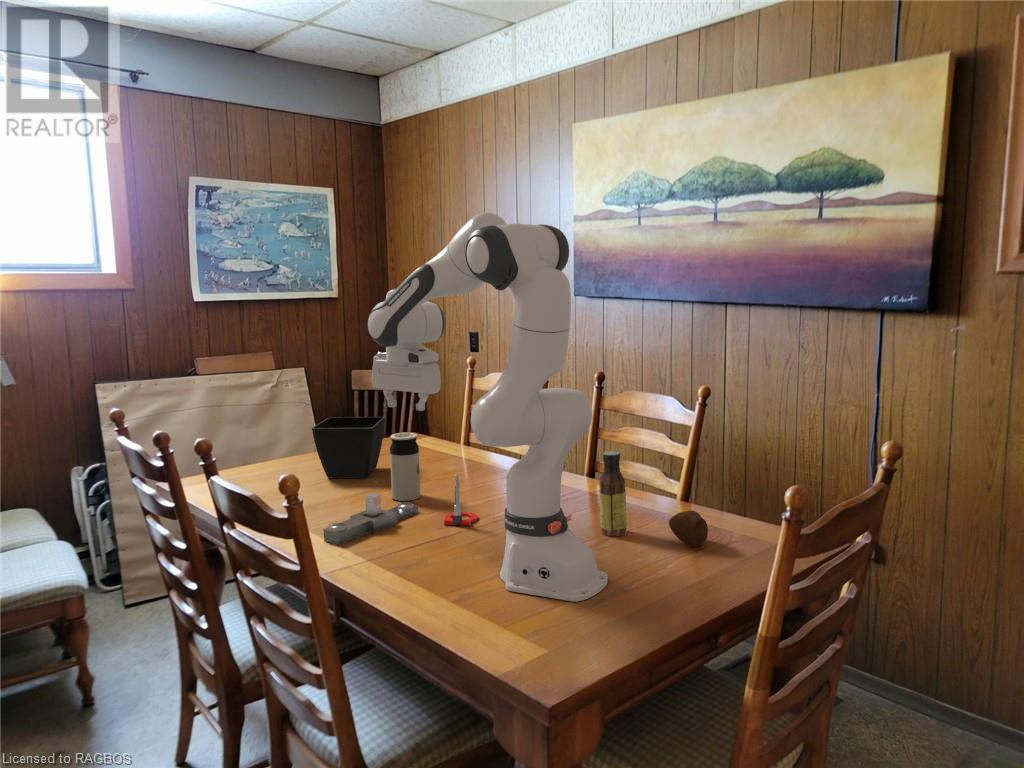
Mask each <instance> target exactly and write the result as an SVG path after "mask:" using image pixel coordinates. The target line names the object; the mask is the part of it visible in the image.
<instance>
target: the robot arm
mask: <svg viewBox="0 0 1024 768" xmlns="http://www.w3.org/2000/svg"><path fill="white" fill-rule="evenodd" d="M569 257H570V245H569V241H568V239H567V236H566V235H565V233H564V232H563V231H562V230H561V229H560V228H557V227H554V226H553V225H549V224H544V223H540V224H539V223H538V224H526V223H520V222H519V223H517V222H516V223H507V222H506V221H505V220H504V219H503V218H502V217H501V216H499V215H497V214H495V213H492V212H481V213H480V212H479V213H477V214H476V215H474V216H473V217H471V218H470V219H469V220H468V221H467V222H466V223H465V224H463V226H462V227H461V228H460V229H459V230H458V231H457V232H456V233H455V234H454V236H453V237H452V238H451V239H450V241H449V243H447V244H446V246H445V247H444V248H443V249H442V250H440V252H438V253H437V254H436V255H435V256H434V257H433V258H431V259H430V260H428V261H426V262H425V263H424V264H422V265H421V266H419V267H418V268H416V269H415V270H414V271H413V272H412V273H411V274H409V275H408V277H406V279H404V280H403V281H402V283H401V284H400V285H399V286H398V287H397V288H396V287H395V288H393V289H390V290H388V292H387V293H386V297H385V300H384V301H382V302H378V303H377V304H376V305H375V306H374V307H373V308H372V309H371V311H370V313H369V315H368V317H367V321H366V322H367V323H366V326H367V332H368V335H369V336H370V337H371V339H372V340H373V341H374V342H375V343H377V344H378V345H379V346H380V347H382V348H385V352H381V351H378V352H377V353H375V355H374V356H373V364H372V369H371V385H372V387H373V388H374V389H379V390H383V395H384V397H385V399H386V401H387V407H389V408H397V399H395V398H394V395H393V393H394V391H396V392H397V391H398V392H404V393H405V392H408V393H416V394H417V395H418V398H419V400H418V402H417V403H415V410H416V411H418V412H422V411H425V410H426V402H427V400H428V398H429V395H432V394H436V393H437V394H438V393H439V392H440V390H441V388H442V387H441V386H442V384H441V383H442V379H441V370H440V366H439V364H438V361H439V353H437V352H436V351H434V350H432V349H430V348H428V347H427V346H424V345H423V344H425V343H432V342H435V341H439V340H440V338H441V337H443V334H444V333H445V329H446V323H447V321H446V316H445V313H444V311H443V309H442V308H441V306H439V304H437V303H435V302H430V301H431V300H434V299H439V298H443V297H451V296H452V297H453V296H459V295H465V294H469V293H471V292H473V291H475V290H477V289H479V288H480V287H481V286H482V285H483V284H485V283H486V284H488V285H491V286H492V287H493V288H494V289H496V290H497V291H501V292H502V291H504V290H506V289H507V288H509V289H510V291H511V292H512V295H513V299H514V308H513V316H512V326H511V327H512V329H511V338H510V345H509V351H508V357H507V362H506V364H505V367H504V369H503V371H502V374H501V375H500V376H499V378H498V380H497V381H496V383H495V384H494V385H493V386H492V387H491V389H489V391H487V392H486V393H485V394H484V395H483V396H481V397H480V398H479V399H478V400H477V401H476V402H475V404H474V405H473V408H472V411H471V415H470V426H471V431H472V433H473V435H474V437H475V438H476V439H477V441H478V442H479V443H481V445H483V446H488V447H497V448H513V447H520V446H529V447H528V448H527V449H528V450H527V451H526V453H525V455H524V456H523V457H522V458H521V459H519V460H518V461H517V462H515V463H514V464H513V465H511V467H510V468H509V470H508V471H507V475H506V479H505V480H506V484H505V485H506V492H505V493H506V508H505V509H504V528H505V533H506V535H505V548H504V553H503V554H504V555H503V559H502V564H501V569H500V571H499V577H500V579H501V581H503V582H504V585H505V589H506V590H507V591H509V592H515V593H519V594H520V593H522V594H527V595H532V596H536V597H537V596H538V597H545V598H550V599H557V600H561V601H566V602H567V601H568V602H573V603H574V602H580V601H585V600H587V599H590V598H592V597H594V596H595V595H597V594H598V593H600V592H601V591H602V590H604V588H606V587H607V584H608V582H609V576H608V573H607V572H605V571H602V570H599V569H598V565H597V561H596V560H597V559H596V555H595V552H594V551H593V549H592V548H591V547H590V546H588V544H586V543H585V542H584V541H583V540H582V539H581V538H579V536H577V535H576V534H575V533H574V531H573V530H571V529H570V528H569V524H568V522H569V521H571V520H572V516H573V514H571V513H570V514H569V515H567V516H566V515H565V514H564V511H563V509H562V507H561V494H562V493H561V492H562V491H561V489H562V488H561V487H562V476H563V471H564V466H565V464H566V461H567V459H568V456H569V454H570V452H571V450H572V449H573V447H574V445H575V444H576V443H577V442H578V441H579V439H581V437H583V435H585V434H586V433H587V432H588V430H589V429H590V427H591V424H592V421H593V406H592V404H591V402H590V399H588V397H587V395H586V394H585V393H584V392H583V391H582V390H580V389H573V388H567V387H566V388H565V387H551V388H543V386H544V385H545V384H546V383H547V382H548V381H549V380H551V378H553V377H554V376H556V375H557V374H559V373H560V372H561V371H562V370H563V369H564V367H565V365H566V362H567V356H568V349H569V348H568V347H569V337H570V328H571V314H572V302H571V301H572V299H571V286H570V280H569V278H568V277H567V275H566V274H565V273H564V272H562V271H563V270H564V269H565V268H566V266H567V265H568V263H569Z"/></svg>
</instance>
